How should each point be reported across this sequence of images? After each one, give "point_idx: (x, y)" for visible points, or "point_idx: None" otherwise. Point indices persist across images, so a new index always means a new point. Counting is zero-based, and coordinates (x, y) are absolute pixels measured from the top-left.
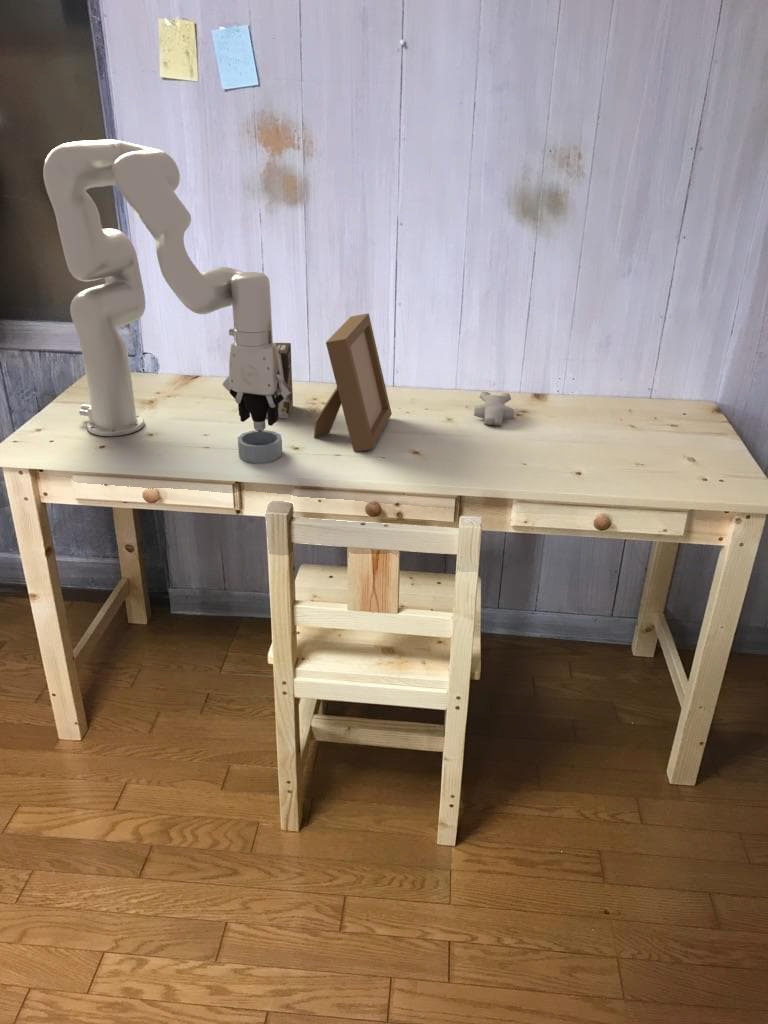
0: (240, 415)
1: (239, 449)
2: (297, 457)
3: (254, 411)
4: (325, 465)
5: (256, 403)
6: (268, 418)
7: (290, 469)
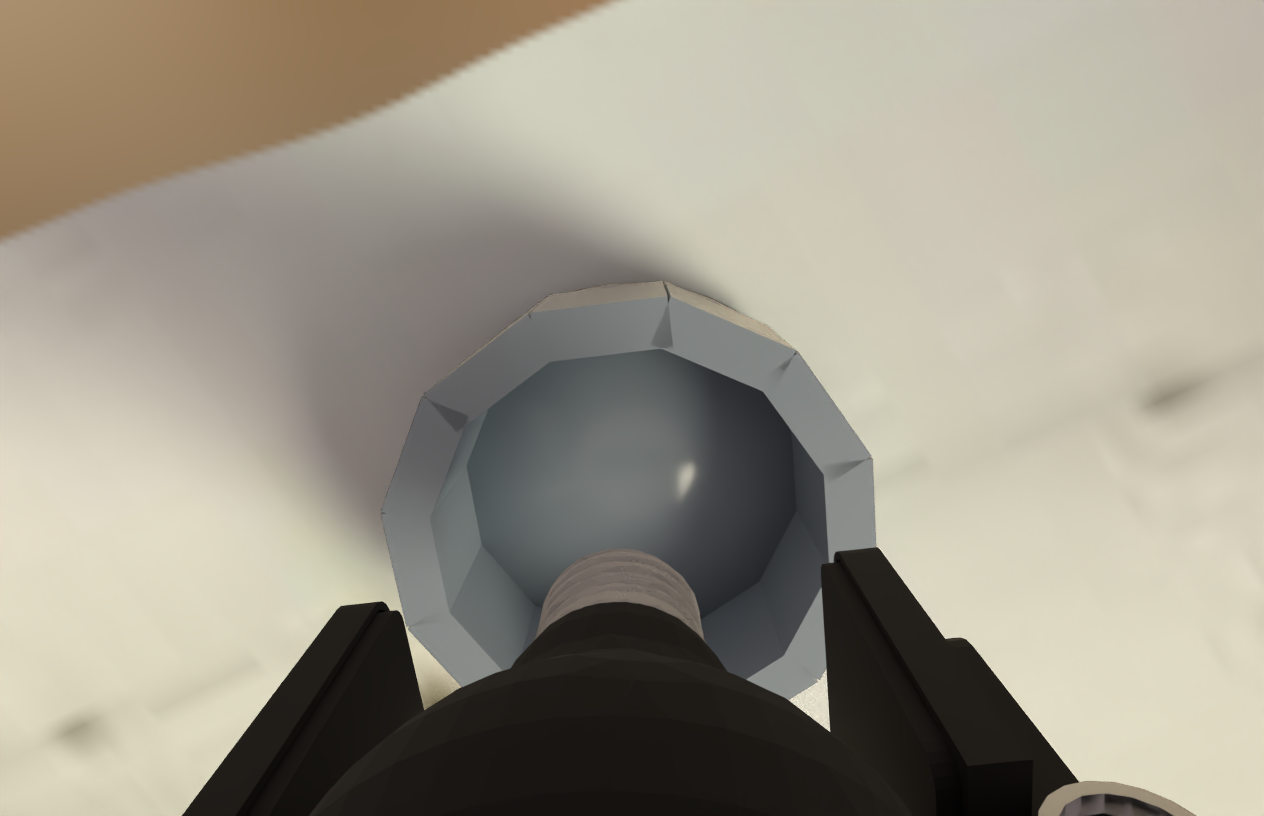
0: (905, 593)
1: (765, 329)
2: (323, 565)
3: (551, 659)
4: (28, 531)
5: (387, 813)
6: (334, 665)
7: (219, 330)
